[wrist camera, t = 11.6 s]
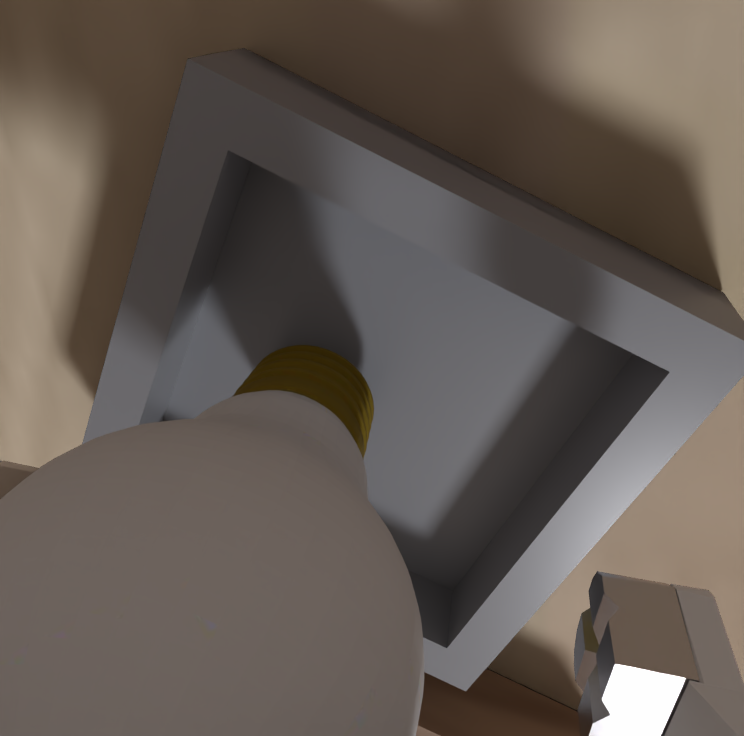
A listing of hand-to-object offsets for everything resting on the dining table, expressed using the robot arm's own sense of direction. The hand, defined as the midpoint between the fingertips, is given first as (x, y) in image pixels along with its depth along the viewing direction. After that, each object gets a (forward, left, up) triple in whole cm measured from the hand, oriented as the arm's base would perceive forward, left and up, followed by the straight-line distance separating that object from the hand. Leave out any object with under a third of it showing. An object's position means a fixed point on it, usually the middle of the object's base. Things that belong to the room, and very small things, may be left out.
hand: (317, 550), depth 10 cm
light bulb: (0, -1, -5) cm, 5 cm away
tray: (0, 0, -6) cm, 6 cm away
